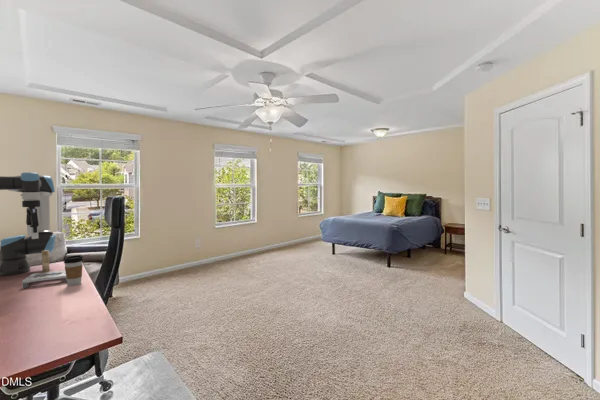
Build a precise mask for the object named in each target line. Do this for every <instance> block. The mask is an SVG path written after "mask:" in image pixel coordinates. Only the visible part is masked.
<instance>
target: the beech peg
mask: <svg viewBox="0 0 600 400" xmlns="http://www.w3.org/2000/svg"><path fill="white" fill-rule="evenodd" d="M41 264H42V265H41V268H42V273H44V272H51V270H50V252H49V250H44V251H42V253H41ZM41 277H44V276H41Z"/></svg>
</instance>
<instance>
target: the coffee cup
mask: <svg viewBox="0 0 600 400" xmlns="http://www.w3.org/2000/svg"><path fill="white" fill-rule="evenodd" d="M83 262H84V259H83V255H81V254H78V255H76V254H75V255H70V256H67V257H65V258H64V260H63V264H64V270H65V272H66V278H67V283H66V284H67V286H69V287H72V286H77V285H81V284H82V275H83Z"/></svg>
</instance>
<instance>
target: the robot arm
mask: <svg viewBox="0 0 600 400" xmlns="http://www.w3.org/2000/svg"><path fill="white" fill-rule="evenodd" d="M1 190H2V191H9V192H10V191H11V192H17V193H21V194H20V195H19V196H20V197H21V199H22V201H21V204H22V205H21V206H22V208H25V209H26V211H25V212H26V219H25V224H26V233H27V236H26V235H25V234H21V235H14V236H8V237H5V238H2V239H1V240H0V276H11V275H19V274H23V273H27V272H30V271H31V266H30V264H29V261H28V259H27V255H28V256H29V255H36V254H37V255H38V254H42V251H44V250H49V253H51V252H53V251H54V250H55V246H56V239H57V236H56V234H54V232H53V231H51V220H50V219H51V218H50V217H51V215H50V211H51V210H50V198H51V196H53V193H56V191H55V185H54V180H53V177H52V176H50V175H39V173H38V172H30V171H29V172H21V174H20V175H14V176H13V175H12V176H1V175H0V191H1Z"/></svg>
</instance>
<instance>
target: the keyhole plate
mask: <svg viewBox="0 0 600 400" xmlns="http://www.w3.org/2000/svg"><path fill="white" fill-rule="evenodd" d="M41 276H44V277H41ZM57 279H64V280H65V283H66V284H67V278H66V272H65V269H64V270H63V269H62V270H53V271H50V272H44V273H43V272H36V273H32V274H30V275H29V276H27V277H25V278H24V279H23V280H22V281H21V284H22V285H21V286H22V287H21V288H22V289H27V288H29V287H30V283H34V282H41V281H49V280H57Z"/></svg>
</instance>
